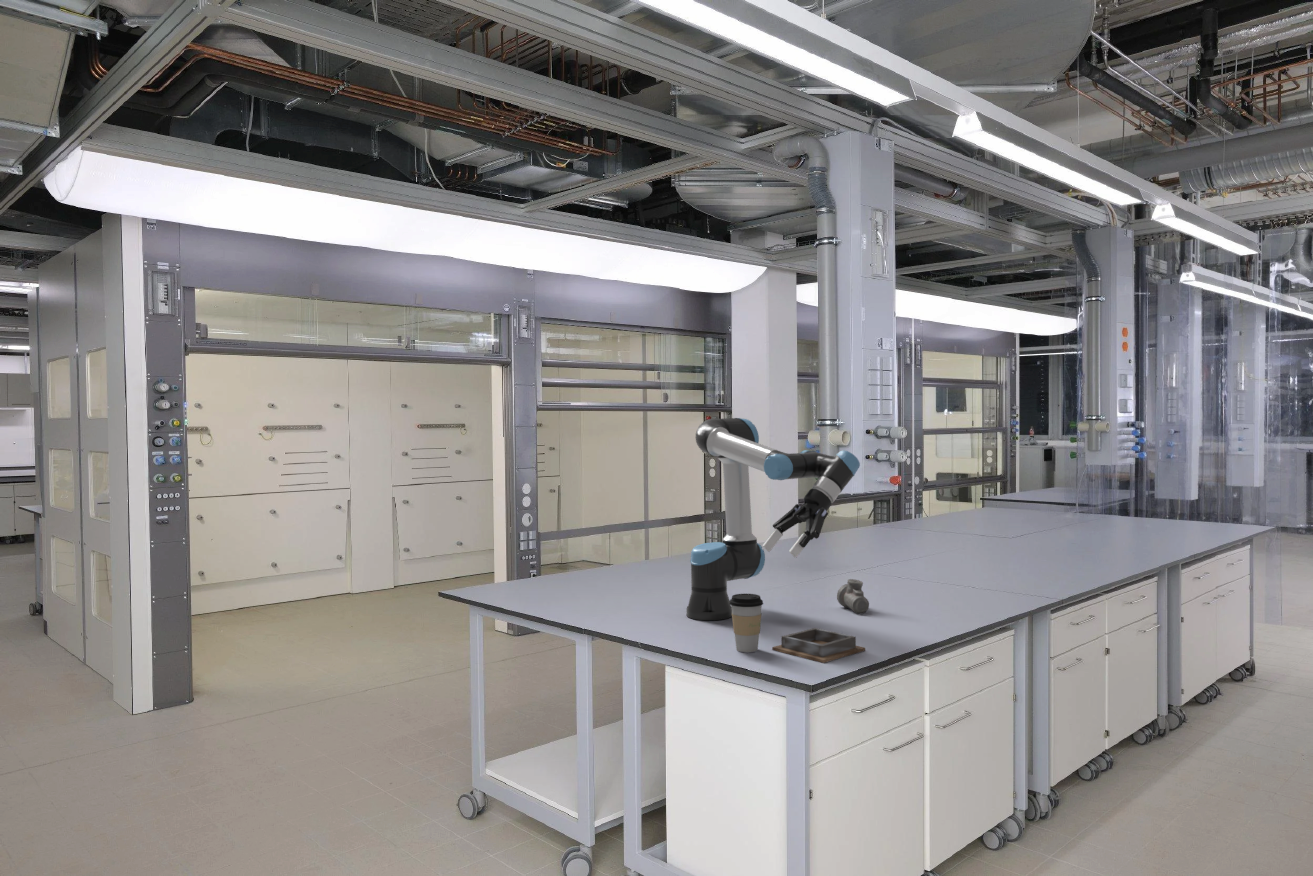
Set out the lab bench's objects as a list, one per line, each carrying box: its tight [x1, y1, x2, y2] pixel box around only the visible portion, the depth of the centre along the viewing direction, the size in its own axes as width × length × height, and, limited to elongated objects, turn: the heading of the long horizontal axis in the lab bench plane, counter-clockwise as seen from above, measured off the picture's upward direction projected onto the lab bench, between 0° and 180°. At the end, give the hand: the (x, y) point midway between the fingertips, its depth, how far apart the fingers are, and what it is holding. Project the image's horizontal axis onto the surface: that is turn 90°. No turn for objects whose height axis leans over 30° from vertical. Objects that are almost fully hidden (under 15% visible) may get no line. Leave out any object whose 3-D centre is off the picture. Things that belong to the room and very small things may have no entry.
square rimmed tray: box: [771, 627, 866, 664], centre depth 244 cm, size 18×18×4 cm
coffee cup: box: [729, 593, 764, 654], centre depth 245 cm, size 9×9×15 cm
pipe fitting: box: [836, 578, 870, 615], centre depth 293 cm, size 12×8×10 cm
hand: (778, 551), depth 249 cm, fingers open, 13 cm apart
